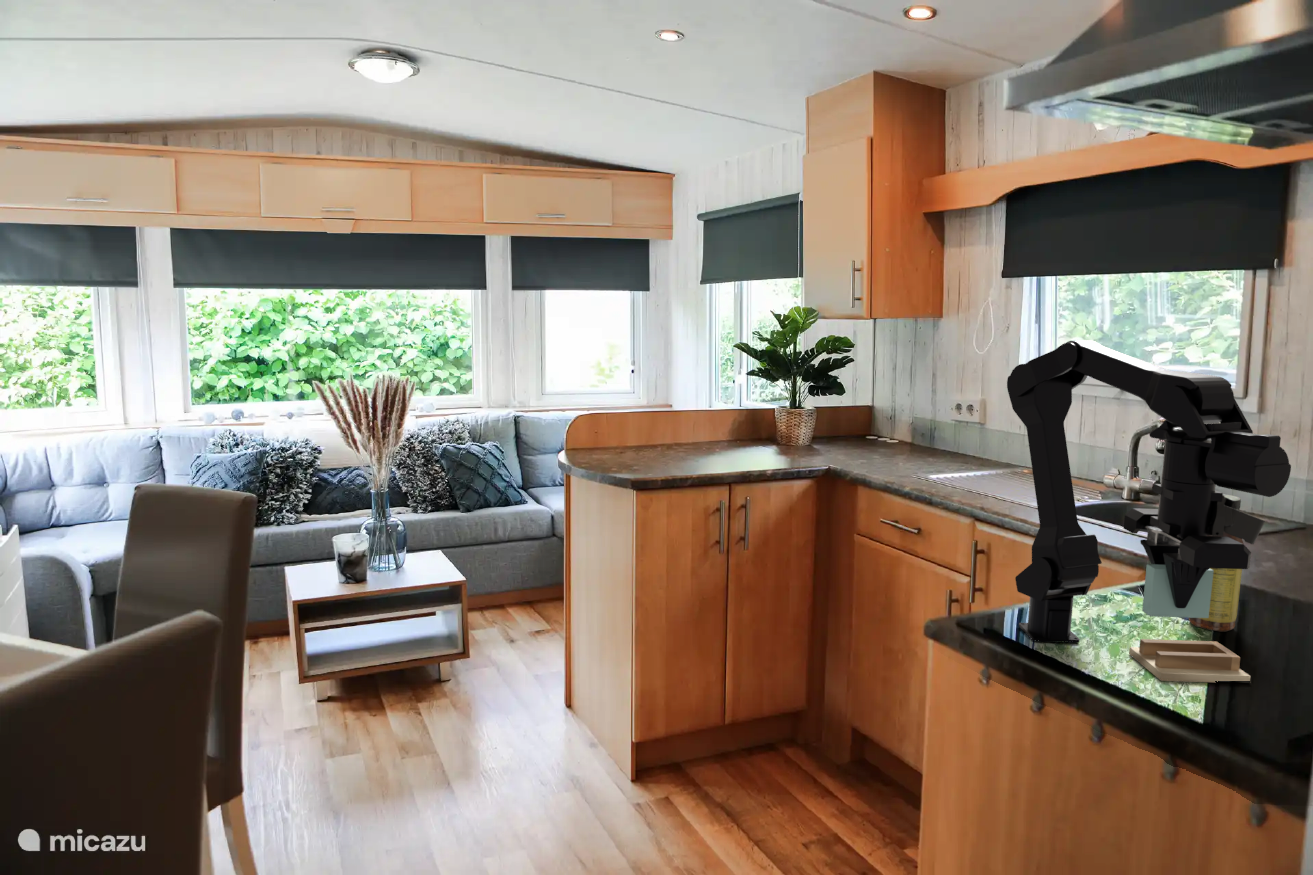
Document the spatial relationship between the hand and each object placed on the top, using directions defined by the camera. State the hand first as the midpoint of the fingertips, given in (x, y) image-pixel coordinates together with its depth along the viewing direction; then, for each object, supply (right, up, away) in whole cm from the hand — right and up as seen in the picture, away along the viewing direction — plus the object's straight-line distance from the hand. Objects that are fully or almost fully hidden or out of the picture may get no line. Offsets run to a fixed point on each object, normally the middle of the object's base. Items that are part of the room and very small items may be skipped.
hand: (1175, 604), depth 115 cm
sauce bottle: (+19, -8, +25) cm, 32 cm away
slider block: (0, -1, 0) cm, 1 cm away
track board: (+6, -10, +8) cm, 14 cm away
